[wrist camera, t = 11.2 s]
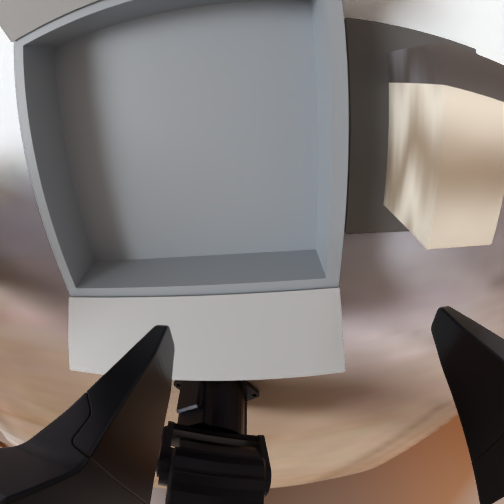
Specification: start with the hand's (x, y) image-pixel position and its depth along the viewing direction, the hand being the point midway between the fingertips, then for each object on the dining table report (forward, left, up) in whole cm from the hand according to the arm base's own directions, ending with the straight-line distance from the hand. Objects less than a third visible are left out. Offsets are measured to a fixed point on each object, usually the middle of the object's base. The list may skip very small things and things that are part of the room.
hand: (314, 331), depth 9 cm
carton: (+7, +3, -12) cm, 14 cm away
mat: (-1, -10, -12) cm, 15 cm away
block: (-1, -10, -11) cm, 15 cm away
